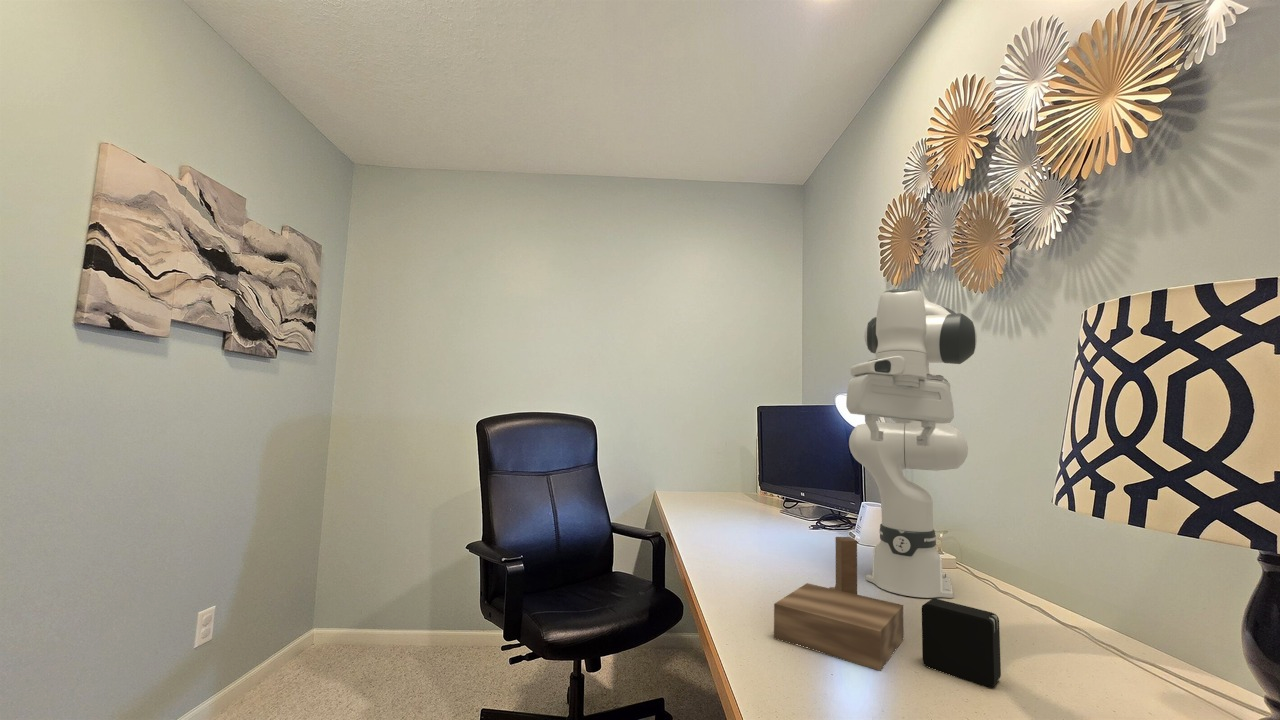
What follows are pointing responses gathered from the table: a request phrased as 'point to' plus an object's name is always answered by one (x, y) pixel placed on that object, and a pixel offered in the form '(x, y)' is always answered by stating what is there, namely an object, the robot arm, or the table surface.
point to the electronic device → (961, 641)
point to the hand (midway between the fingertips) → (900, 443)
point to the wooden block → (846, 565)
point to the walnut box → (840, 624)
